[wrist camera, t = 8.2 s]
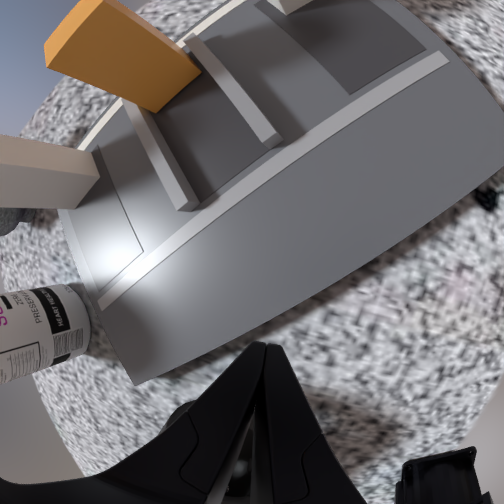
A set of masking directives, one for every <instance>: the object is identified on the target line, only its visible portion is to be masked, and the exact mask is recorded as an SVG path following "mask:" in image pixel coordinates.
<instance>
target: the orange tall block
mask: <svg viewBox="0 0 504 504" xmlns="http://www.w3.org/2000/svg"><path fill="white" fill-rule="evenodd" d="M44 51H45V59H46V66H47V68H49V69H52V70H54V71H57V72H60V73H63V74H65V75H68V76H70V77H73V78H75V79H78V80H80V81H83V82H85V83H88V84H90V85H93V86H95V87H98V88H100V89H102V90H105V91H107V92H109V93H112V94H114V95H116V96H119V97H121V98H123V99H125V100H128V101H130V102H132V103H134V104H136V105H139V106H141V107H143V108H145V109H147V110H149V111H152V112H154V113H157V112H158V111H159V110H160V109H161V108H162V107H163V106H164V105H165V104H166V103H167V102H169V101H170V100H171V99H172V98H173V97H174V96H175V95H176V94H177V93H178V92H180V91H181V90H182V89H183V88H184V87H185V86H186V85H188V84H189V83H190V82H191V81H192V80H193V79H195V78H196V77H197V76H198V75H199V74H201V73H202V71H201V70H200V69H199V68H198V66H197V65H196V64H195V63H194V61H193V60H192V59H191V58H190V56H189V55H188V54H187V53H186V51H184V50H183V49H182V48H181V47H179V46H178V45H177V44H176V43H174V42H173V41H172V40H171V39H169V38H168V37H167V36H165V35H164V34H163V33H161V32H160V31H159V30H158V29H156V28H155V27H154V26H152V25H151V24H149V23H148V22H147V21H145V20H144V19H143V18H141V17H140V16H138V15H137V14H136V13H134V12H133V11H131V10H130V9H128V8H127V7H126V6H124V5H123V4H121V3H120V2H118V1H117V0H80V1H79V2H78V4H77V5H76V6H75V7H74V8H73V9H72V10H71V11H70V13H69V14H68V15H67V16H66V17H65V18H64V20H63V21H62V22H61V23H60V25H59V26H58V27H57V28H56V29H55V31H54V32H53V33H52V35H51V36H50V38H49V39H48V40H47V41H46V43H45V44H44Z"/></svg>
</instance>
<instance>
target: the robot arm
mask: <svg viewBox="0 0 504 504" xmlns="http://www.w3.org/2000/svg"><path fill="white" fill-rule="evenodd" d="M255 404H256V405H255ZM254 409H255V412H254ZM186 411H187V412H186ZM186 411H185V412H183V413H182V414H181V415H180V416H179V417H178V418H177V419H176V420H175V421H174V422H173V423H172V424H171V425H170V426H169V427H168V428H166V429H165V430H164V431H163V432H162V433H160V434H159V435H158V436H156V437H155V438H154V439H153V440H151V441H150V442H149V443H147V444H146V445H144V446H143V447H141V448H140V449H138V450H137V451H135V452H134V453H132V454H131V455H130V456H128V457H127V458H125V459H123V460H122V461H120V462H119V463H117V464H116V465H114V466H113V467H111V468H109V469H107V470H105V471H103V472H101V473H99V474H96V475H93V476H89V477H84V478H78V479H71V480H64V481H56V482H47V483H38V484H17V483H11V482H8V481H6V480H4V479H2V478H1V477H0V504H221V502H222V499H223V497H224V494H225V492H226V489H227V486H228V484H229V481H230V478H231V476H232V473H233V470H234V468H235V465H236V462H237V459H238V457H239V454H240V451H241V448H242V446H243V443H244V440H245V437H246V434H247V431H248V428H249V426H250V423H251V420H252V416H253V413H254V427H253V450H252V472H251V493H250V504H367V503H366V501H365V500H364V498H363V497H362V496H361V494H360V493H359V491H358V490H357V488H356V487H355V486H354V484H353V483H352V481H351V480H350V478H349V477H348V476H347V474H346V473H345V471H344V469H343V468H342V466H341V465H340V463H339V462H338V460H337V458H336V456H335V455H334V453H333V451H332V449H331V447H330V445H329V443H328V441H327V439H326V437H325V435H324V434H322V432H323V431H322V429H321V427H320V425H319V423H318V421H317V419H316V417H315V415H314V413H313V411H312V408H311V406H310V404H309V402H308V400H307V398H306V396H305V394H304V392H303V390H302V388H301V385H300V383H299V381H298V379H297V377H296V375H295V373H294V371H293V369H292V367H291V364H290V362H289V360H288V358H287V356H286V354H285V352H284V350H283V348H282V346H281V345H277V344H271V343H268V344H267V346H266V343H265V342H259V341H252V342H251V343H250V344H249V345H248V346H247V347H246V348H245V349H244V350H243V351H242V353H241V354H240V355H239V356H238V357H237V358H236V359H235V360H234V361H233V362H232V363H231V364H230V365H229V366H228V368H227V369H226V370H225V371H224V372H223V373H222V374H221V375H220V376H219V377H218V378H217V379H216V380H215V381H214V382H213V383H212V384H211V385H210V386H209V387H208V388H207V389H206V390H205V392H204V393H203V394H202V395H201V396H200V397H199V398H198V399H197V400H196V401H195V402H194V403H193V404H192V405H191V406H190V407H189V408H188V409H187V410H186ZM470 452H471V453H470ZM476 453H477V450H476V448H475V447H474V446H471V447H468V448H465V449H461V450H457V451H454V452H450V453H446V454H442V455H437V456H433V457H428V458H424V459H419V460H413V461H408V462H405V463H404V464H403V465H402V476H401V481H398V482H397V483H396V488H395V501H394V504H493V501H492V498H491V496H490V493H489V491H488V492H486V493H485V494H483V495H482V494H481V490H480V487H479V483H478V479H477V476H476V472H475V469H474V461H475V457H476ZM408 466H410V467H408Z"/></svg>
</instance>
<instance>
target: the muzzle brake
mask: <svg viewBox="0 0 504 504" xmlns="http://www.w3.org/2000/svg"><path fill="white" fill-rule="evenodd" d="M195 401H196V400H194V401H190V402H187V403H185V404H183V405H182V406H180V407H178V408H177V409H176V410H175V411H174V412H173V413H172V415H171V416H170V417H169V419H168V420H167V422H166V423H165V425H164V426H163V428H162V429H161V431H160V432H159V434H160V433H162V432H163V431H164V430H165V429H166V428H168V427H169V426H170V425H171V424H172V423H173V422H174V421H175V420H176V419H177V418H178V417H179V416H180V415H181V414H182V413H183V412H185V411H186V410H187V409H188V408H189V407H190V406H191V405H192V404H193V403H194V402H195ZM186 412H187V411H186ZM253 427H254V413H253V416H252V420H251V423H250V426H249V428H248V431H247V434H246V437H245V440H244V443H243V446H242V448H241V451H240V454H239V457H238V459H237V462H236V465H235V468H234V470H233V473H232V476H231V478H230V481H229V484H228V486H227V488H228V487H229V491H228V490H227V489H226V492H225V494H224V497H223V499H222V502H221V504H250V493H251V472H252V450H253ZM159 434H158V435H159ZM158 435H157V436H158Z"/></svg>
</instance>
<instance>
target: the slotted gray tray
mask: <svg viewBox="0 0 504 504" xmlns="http://www.w3.org/2000/svg"><path fill="white" fill-rule="evenodd" d="M174 43H176V44H177V45H178V46H179V47H181V48H182V49H183V50H184V51H186V53H187V54H188V55H189V56H190V58H191V59H192V60H193V61H194V63H195V64H196V65H197V66H198V68H199V69H200V70H201V71H202V73H201V74H199V75H198V76H197V77H196V78H195V79H193V80H192V81H191V82H190V83H189V84H188V85H186V86H185V87H184V88H183V89H182V90H181V91H180V92H178V93H177V94H176V95H175V96H174V97H173V98H172V99H171V100H170V101H169V102H167V103H166V104H165V105H164V106H163V107H162V108H161V109H160V110H159V111H158V112H157V113H154V112H152V111H149V110H147V109H145V108H143V107H141V106H139V105H136V104H134V103H132V102H130V101H128V100H125V99H123V98H121V97H119V96H117V97H116V98H115V99H114V100H113V102H112V103H111V104H110V105H109V106H108V107H107V108H106V110H105V111H104V112H103V113H102V114H101V115H100V117H99V118H98V119H97V120H96V121H95V123H94V124H93V125H92V126H91V128H90V129H89V130H88V131H87V133H86V134H85V135H84V136H83V138H82V139H81V140H80V142H79V143H78V144H77V146H76V147H75V148H69V147H64V146H59V145H55V144H50V143H45V142H39V141H34V140H29V139H23V138H18V137H12V136H6V135H0V207H5V208H42V209H57V211H58V215H59V218H60V221H61V224H62V227H63V230H64V233H65V236H66V239H67V242H68V245H69V248H70V251H71V253H72V256H73V259H74V262H75V264H76V267H77V269H78V272H79V274H80V277H81V279H82V282H83V284H84V287H85V289H86V291H87V294H88V296H89V298H90V301H91V303H92V305H93V307H94V310H95V312H96V314H97V316H98V318H99V320H100V322H101V324H102V327H103V329H104V331H105V333H106V335H107V337H108V339H109V341H110V343H111V344H112V346H113V348H114V350H115V352H116V354H117V356H118V358H119V360H120V361H121V363H122V365H123V367H124V369H125V370H126V372H127V374H128V376H129V377H130V379H131V381H132V382H133V384H134V386H137V385H139V384H141V383H144V382H146V381H148V380H150V379H153V378H155V377H157V376H159V375H161V374H164V373H166V372H168V371H170V370H172V369H174V368H176V367H178V366H181V365H183V364H185V363H187V362H189V361H191V360H193V359H195V358H197V357H199V356H201V355H203V354H205V353H207V352H209V351H211V350H213V349H215V348H217V347H219V346H221V345H223V344H225V343H227V342H229V341H231V340H233V339H235V338H237V337H239V336H241V335H243V334H244V333H246V332H248V331H250V330H252V329H254V328H256V327H258V326H259V325H261V324H263V323H265V322H267V321H269V320H271V319H272V318H274V317H276V316H278V315H280V314H281V313H283V312H285V311H287V310H289V309H290V308H292V307H294V306H296V305H297V304H299V303H301V302H303V301H304V300H306V299H308V298H310V297H311V296H313V295H315V294H316V293H318V292H320V291H322V290H323V289H325V288H327V287H328V286H330V285H332V284H333V283H335V282H337V281H338V280H340V279H342V278H343V277H345V276H347V275H348V274H350V273H351V272H353V271H355V270H356V269H358V268H360V267H361V266H363V265H364V264H366V263H368V262H369V261H371V260H372V259H374V258H375V257H377V256H379V255H380V254H382V253H383V252H385V251H386V250H388V249H389V248H391V247H392V246H394V245H395V244H397V243H399V242H400V241H402V240H403V239H405V238H406V237H408V236H409V235H410V234H412V233H413V232H415V231H416V230H418V229H419V228H421V227H422V226H424V225H425V224H427V223H428V222H429V221H431V220H432V219H434V218H435V217H437V216H438V215H439V214H441V213H442V212H444V211H445V210H446V209H448V208H449V207H451V206H452V205H453V204H455V203H456V202H458V201H459V200H460V199H462V198H463V197H464V196H466V195H467V194H468V193H470V192H471V191H472V190H474V189H475V188H476V187H478V186H479V185H480V184H482V183H483V182H484V181H486V180H487V179H488V178H489V177H491V176H492V175H493V174H494V173H496V172H497V171H498V170H500V169H501V168H502V167H503V166H504V112H503V110H502V109H501V108H500V106H499V105H498V103H497V102H496V101H495V99H494V98H493V97H492V95H491V94H490V93H489V92H488V90H487V89H486V88H485V87H484V85H483V84H482V83H481V82H480V80H479V79H478V78H477V77H476V76H475V75H474V73H473V72H472V71H471V70H470V69H469V68H468V67H467V65H466V64H465V63H464V62H463V61H462V60H461V59H460V58H459V57H458V56H457V55H456V54H455V52H454V51H453V50H452V49H451V48H450V47H449V46H448V45H447V44H446V43H445V42H444V41H443V40H442V39H441V38H439V37H438V36H437V35H436V34H435V33H434V32H433V31H432V30H431V29H430V28H429V27H428V26H427V25H425V24H424V23H423V22H422V21H421V20H420V19H418V18H417V17H416V16H415V15H414V14H413V13H411V12H410V11H409V10H408V9H406V8H405V7H404V6H403V5H401V4H400V3H399V2H398V1H396V0H227V1H225V2H224V3H223V4H221V5H220V6H218V7H217V8H215V9H214V10H213V11H211V12H210V13H209V14H207V15H206V16H205V17H203V18H202V19H201V20H199V21H198V22H197V23H195V24H194V25H193V26H192V27H190V28H189V29H188V30H187V31H186V32H184V33H183V34H182V35H181V36H179V37H178V38H177V39H176V40H175V41H174Z"/></svg>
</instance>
